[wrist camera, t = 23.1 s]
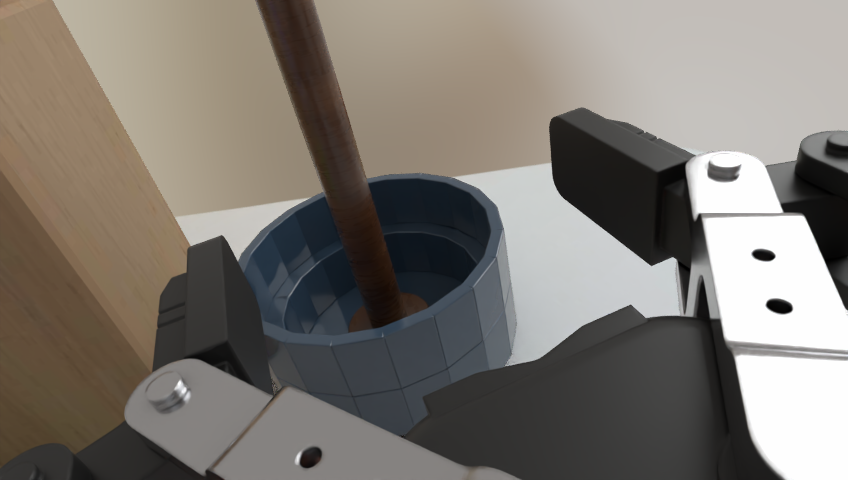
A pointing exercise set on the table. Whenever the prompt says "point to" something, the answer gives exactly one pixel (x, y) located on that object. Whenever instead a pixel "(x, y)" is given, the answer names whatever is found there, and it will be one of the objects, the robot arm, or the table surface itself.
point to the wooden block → (71, 243)
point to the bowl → (417, 274)
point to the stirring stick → (336, 158)
